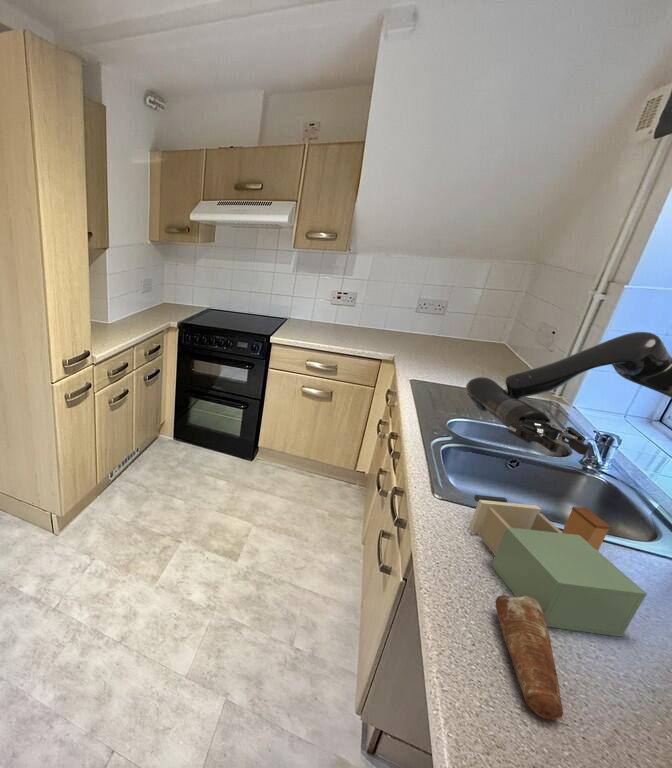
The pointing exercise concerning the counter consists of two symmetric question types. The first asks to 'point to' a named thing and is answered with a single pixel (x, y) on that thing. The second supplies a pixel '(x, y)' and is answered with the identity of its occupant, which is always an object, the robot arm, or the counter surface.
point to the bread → (531, 653)
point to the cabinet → (568, 581)
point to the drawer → (505, 519)
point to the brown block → (586, 526)
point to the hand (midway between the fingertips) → (570, 449)
